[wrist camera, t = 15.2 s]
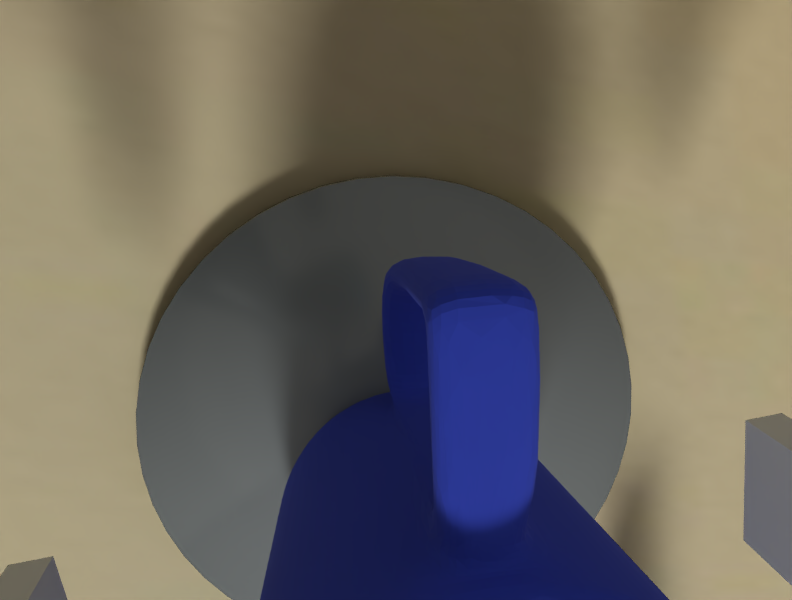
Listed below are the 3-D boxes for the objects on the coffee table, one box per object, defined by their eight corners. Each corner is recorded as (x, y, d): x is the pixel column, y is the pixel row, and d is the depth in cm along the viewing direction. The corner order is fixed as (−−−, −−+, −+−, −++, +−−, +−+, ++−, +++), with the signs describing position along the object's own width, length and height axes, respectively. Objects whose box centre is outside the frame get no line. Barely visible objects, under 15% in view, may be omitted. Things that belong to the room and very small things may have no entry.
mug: (548, 203, 17) (841, 283, 8) (538, 592, 20) (744, 998, 11) (234, 217, 17) (130, 329, 7) (271, 624, 19) (236, 1099, 10)
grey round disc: (84, 218, 17) (76, 221, 16) (609, 140, 18) (619, 140, 17) (200, 667, 20) (197, 683, 20) (631, 576, 21) (640, 588, 21)
